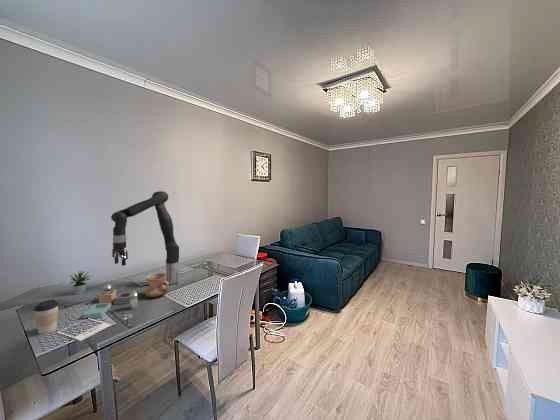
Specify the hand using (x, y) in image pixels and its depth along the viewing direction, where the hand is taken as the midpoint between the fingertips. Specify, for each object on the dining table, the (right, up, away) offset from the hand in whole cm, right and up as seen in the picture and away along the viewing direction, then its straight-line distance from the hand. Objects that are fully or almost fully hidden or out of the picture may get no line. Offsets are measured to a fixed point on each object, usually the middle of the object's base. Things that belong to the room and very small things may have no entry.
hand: (120, 264), depth 157 cm
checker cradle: (+6, -24, -3) cm, 25 cm away
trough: (0, -25, -19) cm, 31 cm away
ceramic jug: (+22, -24, +6) cm, 33 cm away
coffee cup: (-12, -26, -38) cm, 47 cm away
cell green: (+18, -25, -13) cm, 33 cm away
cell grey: (-5, -23, -5) cm, 24 cm away
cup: (-5, -24, -5) cm, 24 cm away
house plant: (-33, -22, +5) cm, 40 cm away
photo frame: (+6, -27, -36) cm, 45 cm away
